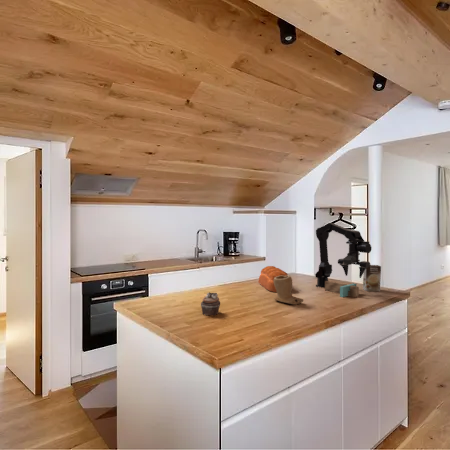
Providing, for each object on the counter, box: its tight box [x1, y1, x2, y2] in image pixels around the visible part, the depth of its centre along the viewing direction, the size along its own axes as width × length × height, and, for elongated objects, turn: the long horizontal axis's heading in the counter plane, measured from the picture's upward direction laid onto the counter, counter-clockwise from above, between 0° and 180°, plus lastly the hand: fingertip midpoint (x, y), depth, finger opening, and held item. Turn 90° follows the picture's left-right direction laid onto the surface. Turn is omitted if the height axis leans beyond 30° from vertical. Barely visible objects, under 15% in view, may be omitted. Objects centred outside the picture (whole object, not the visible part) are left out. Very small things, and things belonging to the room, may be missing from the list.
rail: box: [324, 280, 359, 298], centre depth 214 cm, size 22×2×6 cm, turn 39°
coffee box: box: [362, 264, 382, 292], centre depth 224 cm, size 9×6×16 cm
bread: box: [257, 265, 289, 293], centre depth 232 cm, size 16×31×13 cm, turn 10°
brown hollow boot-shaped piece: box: [273, 274, 304, 306], centre depth 192 cm, size 15×12×15 cm
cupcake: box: [200, 292, 221, 316], centre depth 171 cm, size 10×10×10 cm
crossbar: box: [339, 283, 358, 298], centre depth 210 cm, size 15×2×6 cm, turn 129°
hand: (353, 276), depth 213 cm, fingers open, 9 cm apart
